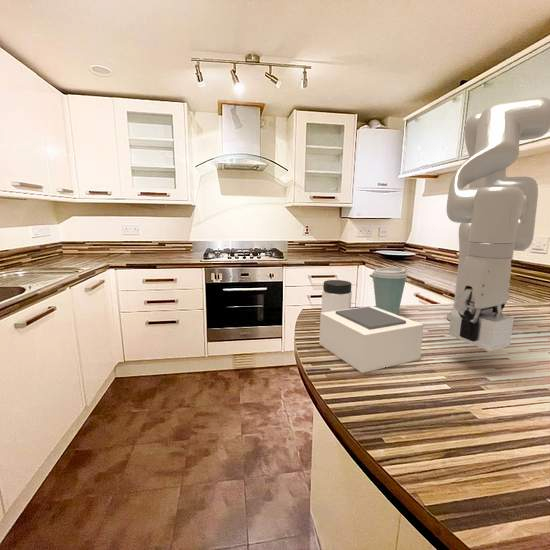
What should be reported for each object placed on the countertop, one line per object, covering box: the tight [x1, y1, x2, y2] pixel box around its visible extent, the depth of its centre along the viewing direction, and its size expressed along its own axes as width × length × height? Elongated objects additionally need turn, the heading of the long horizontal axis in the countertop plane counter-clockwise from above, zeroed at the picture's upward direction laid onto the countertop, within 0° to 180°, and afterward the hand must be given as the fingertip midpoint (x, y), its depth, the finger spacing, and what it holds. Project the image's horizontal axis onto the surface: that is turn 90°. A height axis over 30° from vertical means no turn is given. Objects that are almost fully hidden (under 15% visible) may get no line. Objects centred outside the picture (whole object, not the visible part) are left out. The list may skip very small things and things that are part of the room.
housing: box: [448, 304, 515, 352], centre depth 65 cm, size 6×9×7 cm, turn 24°
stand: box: [318, 305, 424, 374], centre depth 72 cm, size 16×16×9 cm
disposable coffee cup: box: [371, 267, 408, 315], centre depth 101 cm, size 11×11×15 cm
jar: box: [321, 279, 353, 313], centre depth 93 cm, size 9×8×12 cm
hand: (478, 335), depth 65 cm, fingers closed on housing, 6 cm apart
